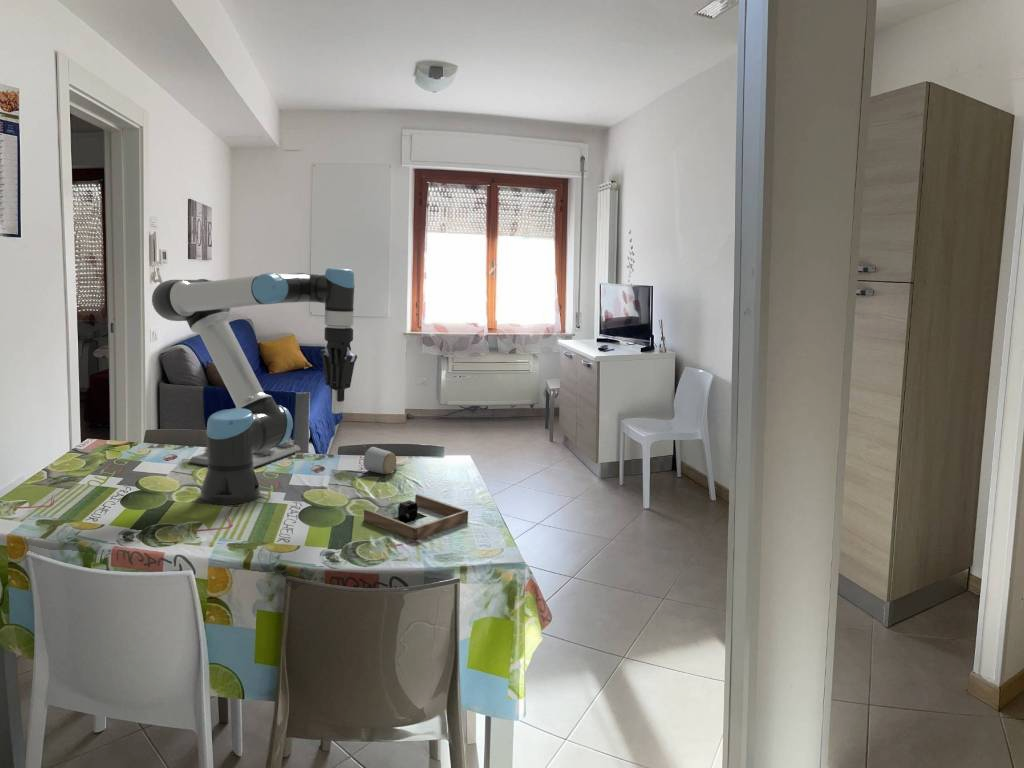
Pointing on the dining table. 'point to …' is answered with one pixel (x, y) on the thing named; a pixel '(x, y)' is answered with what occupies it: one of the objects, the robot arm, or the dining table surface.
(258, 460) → the flat grey tray
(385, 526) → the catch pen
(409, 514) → the black wall mount bracket
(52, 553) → the dining table surface
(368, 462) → the ceramic mug
